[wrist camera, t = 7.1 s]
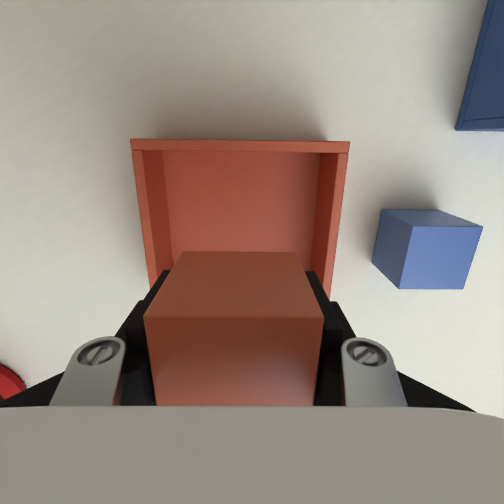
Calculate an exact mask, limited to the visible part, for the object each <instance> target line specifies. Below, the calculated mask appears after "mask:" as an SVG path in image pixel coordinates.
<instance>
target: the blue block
mask: <svg viewBox="0 0 504 504" xmlns="http://www.w3.org/2000/svg"><path fill="white" fill-rule="evenodd" d="M482 229H483V226H480V225H478V224H475V223H472V222H470V221H467V220H464V219H461V218H459V217H456V216H453V215H451V214H448V213H445V212H442V211H440V210H382V211H381V216H380V221H379V227H378V232H377V238H376V243H375V248H374V254H373V259H372V263H373V264H374V265H375V266H376V267H377V268H378V269H379V270H380V271H381V272H382V273H383V274H384V275H385V276H386V277H387V278H388V279H389V280H390V281H391V282H392V283H393V284H394V285H395V286H396V287H397V288H398V289H463V288H464V285H465V281H466V278H467V275H468V272H469V269H470V266H471V263H472V260H473V257H474V254H475V251H476V248H477V245H478V242H479V239H480V235H481V232H482Z"/></svg>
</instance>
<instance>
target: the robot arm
mask: <svg viewBox="0 0 504 504" xmlns="http://www.w3.org/2000/svg"><path fill="white" fill-rule="evenodd" d="M170 271H171V270H163V271H162V273H161V274H160V276H159V277H158V279H157V280H156V282H155V283H154V285H153V286H152V288H151V289H150V291H149V292H148V294H147V295H146V297H145V298H144V300H140V301H139V302H138V303H137V304H136V306H135V307H134V309H133V310H132V311H131V313H130V314H129V316H128V317H127V319H126V320H125V322H124V323H123V324H122V326H121V327H120V329H119V330H118V332H117V333H116V335H115V336H114V337H113V336H108V337H101V338H97V339H94V340H91V341H89V342H87V343H85V344H84V345H82V346H81V347H80V348H78V349H77V350H76V351H75V353H74V354H73V355H72V357H71V359H70V362H69V364H68V366H67V368H66V370H65V372H62V373H60V374H58V375H56V376H54V377H52V378H49V379H47V380H45V381H43V382H41V383H39V384H37V385H34V386H32V387H30V388H28V389H26V390H24V391H22V392H19V393H17V394H15V395H13V396H11V397H9V398H7V399H4V400H2V401H0V504H504V419H502V418H499V417H495V416H490V415H485V414H480V413H477V412H475V411H474V410H472V409H470V408H469V407H467V406H465V405H463V404H461V403H459V402H457V401H455V400H453V399H451V398H449V397H447V396H445V395H443V394H441V393H440V392H438V391H436V390H434V389H432V388H430V387H428V386H426V385H424V384H422V383H420V382H418V381H416V380H414V379H412V378H410V377H408V376H406V375H404V374H402V373H400V372H398V371H396V368H395V365H394V362H393V358H392V356H391V354H390V352H389V351H388V350H387V349H386V348H385V347H384V346H382V345H381V344H379V343H377V342H375V341H373V340H370V339H366V338H358V337H356V335H355V334H354V332H353V330H352V328H351V326H350V324H349V323H348V321H347V319H346V317H345V315H344V313H343V312H342V310H341V308H340V306H339V304H338V303H337V302H335V301H330V300H329V299H328V297H327V295H326V293H325V291H324V289H323V287H322V285H321V283H320V281H319V279H318V277H317V275H316V273H315V271H305V274H306V276H307V279H308V281H309V283H310V286H311V288H312V290H313V293H314V295H315V297H316V300H317V302H318V304H319V307H320V309H321V311H322V314H323V316H324V323H323V331H322V339H321V347H320V355H319V364H318V372H317V380H316V388H315V396H314V404H313V406H156V400H155V393H154V386H153V379H152V373H151V366H150V359H149V352H148V346H147V339H146V332H145V325H144V319H143V316H144V314H145V312H146V311H147V309H148V307H149V306H150V304H151V302H152V301H153V299H154V297H155V296H156V294H157V293H158V291H159V289H160V288H161V286H162V284H163V283H164V281H165V279H166V278H167V276H168V274H169V273H170Z"/></svg>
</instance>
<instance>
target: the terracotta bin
mask: <svg viewBox="0 0 504 504" xmlns="http://www.w3.org/2000/svg"><path fill="white" fill-rule="evenodd" d="M130 143H131V149H132V151H131V152H132V159H133V166H134V174H135V181H136V188H137V196H138V203H139V211H140V218H141V225H142V233H143V240H144V247H145V255H146V262H147V270H148V277H149V284H150V289H151V288H152V286H153V285H154V283H155V282H156V280H157V279H158V277H159V276H160V274H161V273H162V271H163V270H172V268H173V266H174V265H175V263H176V261H177V260H178V258H179V256H180V255H181V253H182V252H183V251H239V252H296V253H297V255H298V257H299V260H300V262H301V264H302V267H303V269H304V271H315V273H316V275H317V277H318V279H319V281H320V283H321V285H322V287H323V289H324V291H325V293H326V295H327V297H328V299H330V291H331V283H332V276H333V268H334V260H335V253H336V245H337V237H338V230H339V222H340V215H341V207H342V199H343V192H344V184H345V176H346V169H347V161H348V152H349V146H350V142H346V141H282V140H210V139H130Z"/></svg>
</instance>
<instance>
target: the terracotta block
mask: <svg viewBox="0 0 504 504" xmlns="http://www.w3.org/2000/svg"><path fill="white" fill-rule="evenodd" d="M143 319H144V325H145V332H146V339H147V346H148V352H149V359H150V366H151V373H152V379H153V386H154V393H155V400H156V406H313V404H314V396H315V388H316V380H317V372H318V364H319V355H320V347H321V339H322V331H323V323H324V316H323V314H322V311H321V309H320V307H319V304H318V302H317V300H316V297H315V295H314V293H313V290H312V288H311V286H310V283H309V281H308V279H307V276H306V274H305V271H304V269H303V267H302V264H301V262H300V260H299V257H298V255H297V253H296V252H239V251H183V252H182V253H181V255H180V256H179V258H178V260H177V261H176V263H175V265H174V266H173V268H172V270H171V271H170V273H169V274H168V276H167V278H166V279H165V281H164V283H163V284H162V286H161V288H160V289H159V291H158V293H157V294H156V296H155V297H154V299H153V301H152V302H151V304H150V306H149V307H148V309H147V311H146V312H145V314H144V316H143Z"/></svg>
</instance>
